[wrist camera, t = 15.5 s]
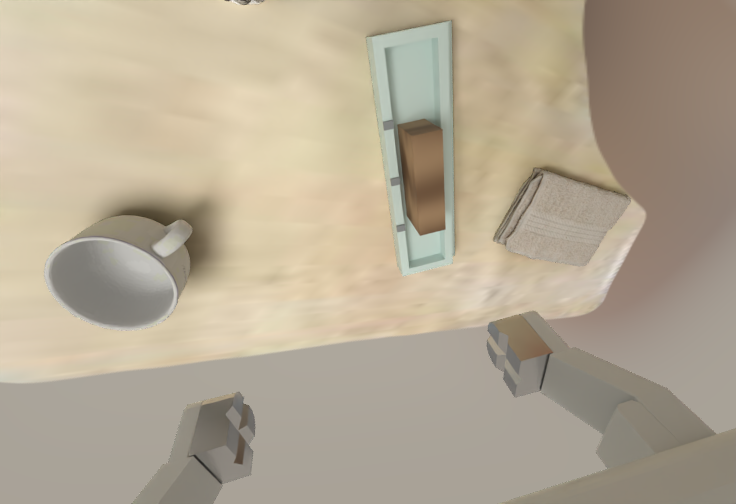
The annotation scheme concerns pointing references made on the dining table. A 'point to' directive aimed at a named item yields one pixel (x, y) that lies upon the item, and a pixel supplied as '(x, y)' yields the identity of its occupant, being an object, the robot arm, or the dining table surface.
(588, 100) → the dining table surface
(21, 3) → the dining table surface
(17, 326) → the dining table surface
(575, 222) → the washcloth
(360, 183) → the dining table surface
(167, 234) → the teacup
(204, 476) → the robot arm
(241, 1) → the decorative candle
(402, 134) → the wooden block
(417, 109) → the ledge
